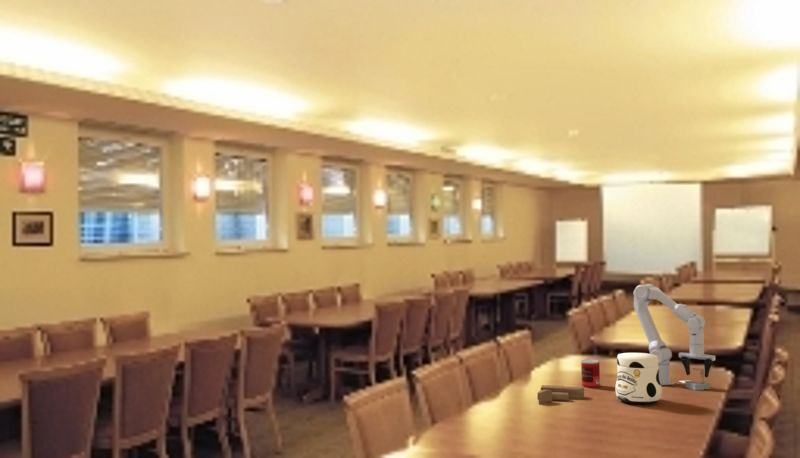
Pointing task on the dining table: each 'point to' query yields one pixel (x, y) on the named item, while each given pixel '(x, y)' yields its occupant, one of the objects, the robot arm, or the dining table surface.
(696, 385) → the base brick
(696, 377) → the top brick
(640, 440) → the dining table surface
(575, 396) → the wooden block set
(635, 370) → the milk container
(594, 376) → the canned food
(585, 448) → the dining table surface
